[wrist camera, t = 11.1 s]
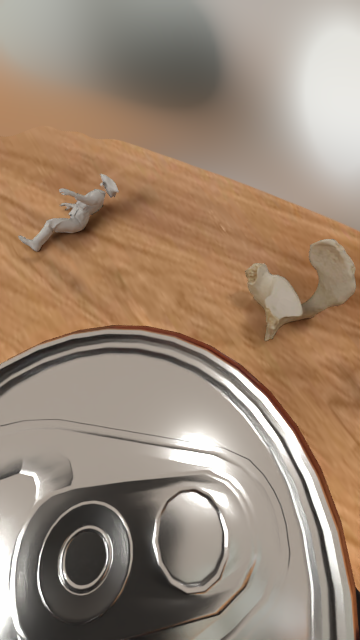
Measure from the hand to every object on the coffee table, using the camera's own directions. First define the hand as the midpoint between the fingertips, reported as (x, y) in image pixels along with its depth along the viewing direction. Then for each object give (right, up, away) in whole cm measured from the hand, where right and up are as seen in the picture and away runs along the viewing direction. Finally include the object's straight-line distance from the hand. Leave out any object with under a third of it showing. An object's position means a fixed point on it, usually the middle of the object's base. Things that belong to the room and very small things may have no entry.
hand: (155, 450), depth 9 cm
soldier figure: (-12, +15, +23) cm, 30 cm away
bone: (+10, +5, +17) cm, 21 cm away
